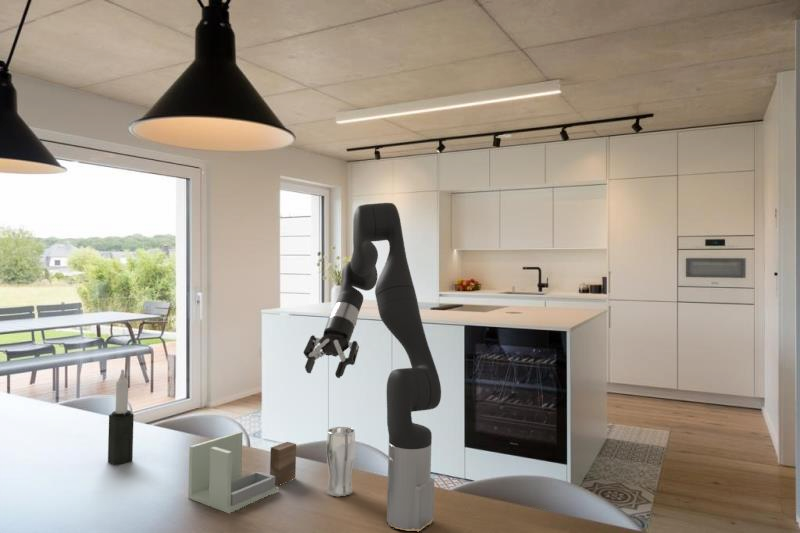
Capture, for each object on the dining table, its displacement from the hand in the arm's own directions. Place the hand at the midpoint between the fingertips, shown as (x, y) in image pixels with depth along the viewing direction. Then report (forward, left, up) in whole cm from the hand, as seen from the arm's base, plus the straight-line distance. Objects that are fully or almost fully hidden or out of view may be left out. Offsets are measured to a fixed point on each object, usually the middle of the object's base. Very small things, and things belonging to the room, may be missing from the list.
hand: (322, 374), depth 149 cm
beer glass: (-11, +6, -27) cm, 29 cm away
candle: (+50, +25, -27) cm, 62 cm away
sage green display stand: (+8, +22, -26) cm, 35 cm away
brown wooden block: (+5, +9, -26) cm, 28 cm away
